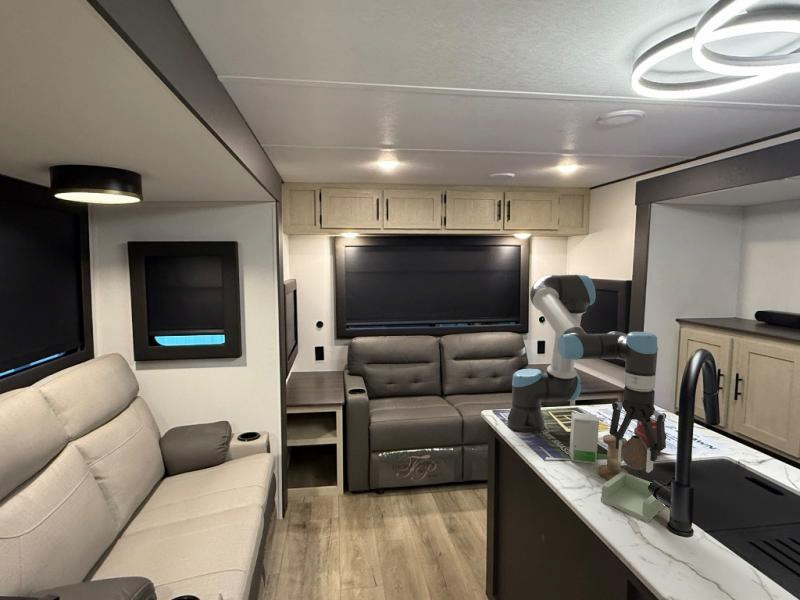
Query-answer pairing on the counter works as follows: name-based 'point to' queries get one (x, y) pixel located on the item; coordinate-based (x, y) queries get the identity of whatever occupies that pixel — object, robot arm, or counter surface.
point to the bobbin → (611, 460)
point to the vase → (635, 453)
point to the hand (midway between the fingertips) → (635, 465)
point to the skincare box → (584, 438)
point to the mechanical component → (641, 432)
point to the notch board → (631, 496)
